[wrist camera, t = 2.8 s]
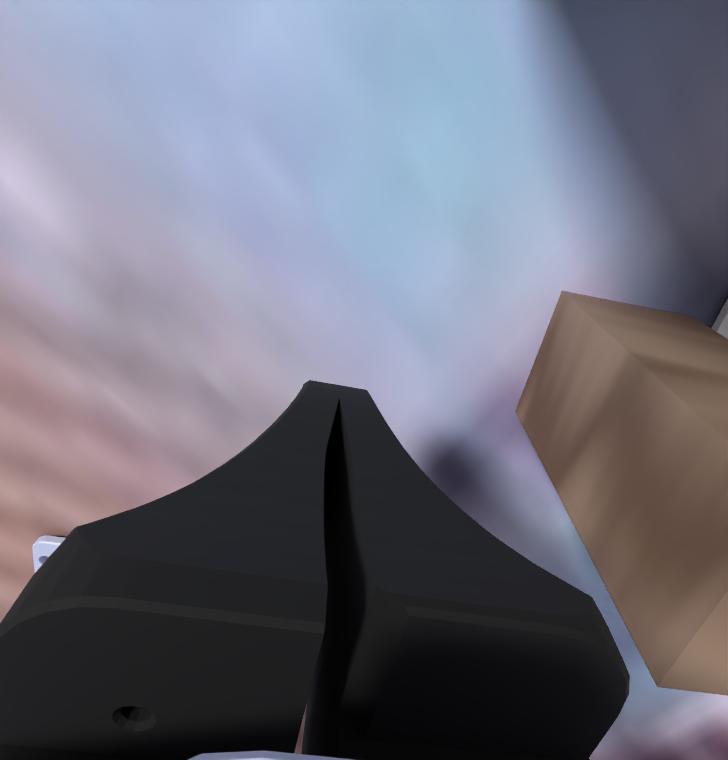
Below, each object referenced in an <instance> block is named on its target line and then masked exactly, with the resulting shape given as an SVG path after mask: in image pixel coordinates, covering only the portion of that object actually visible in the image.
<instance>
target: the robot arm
mask: <svg viewBox="0 0 728 760" xmlns="http://www.w3.org/2000/svg"><path fill="white" fill-rule="evenodd" d="M32 551H33V560H34V569H35V574H34V575H33V577H32V578H31V579H30V581H29V582H28V584H27V585H26V587H25V588H24V589H23V591H22V592H21V594H20V595H19V597H18V598H17V600H16V601H15V603H14V604H13V606H12V607H11V609H10V610H9V612H8V613H7V614H6V616H5V617H4V619H3V620H2V622H1V623H0V760H589V757H590V755H591V754H592V752H593V751H594V750H595V748H596V747H597V745H598V744H599V743H600V741H601V740H602V738H603V737H604V735H605V734H606V733H607V731H608V730H609V728H610V727H611V725H612V724H613V723H614V721H615V720H616V718H617V717H618V715H619V713H620V711H621V709H622V707H623V705H624V703H625V701H626V699H627V697H628V695H629V679H630V676H629V673H628V671H627V668H626V666H625V663H624V661H623V659H622V656H621V654H620V652H619V650H618V648H617V646H616V643H615V641H614V639H613V637H612V635H611V632H610V630H609V628H608V626H607V624H606V622H605V620H604V618H603V617H602V615H601V613H600V611H599V609H598V607H597V605H596V604H595V602H594V600H593V598H592V597H591V596H589V595H587V594H585V593H584V592H582V591H580V590H579V589H577V588H575V587H573V586H572V585H570V584H568V583H566V582H565V581H563V580H561V579H559V578H558V577H556V576H554V575H552V574H551V573H549V572H547V571H546V570H544V569H542V568H540V567H539V566H537V565H535V564H534V563H532V562H531V561H529V560H528V559H526V558H525V557H523V556H522V555H520V554H519V553H517V552H516V551H514V550H513V549H512V548H510V547H509V546H507V545H506V544H504V543H503V542H501V541H500V540H499V539H497V538H496V537H495V536H493V535H492V534H491V533H489V532H488V531H487V530H485V529H484V528H483V527H482V526H480V525H479V524H478V523H477V522H476V521H474V520H473V519H472V518H471V517H470V516H468V515H467V514H466V513H465V512H463V511H462V510H461V509H460V508H459V507H458V506H457V505H456V504H454V503H453V502H452V501H451V500H450V499H449V498H448V497H447V496H446V495H445V494H444V493H443V492H442V491H441V490H440V489H439V488H438V487H437V486H436V485H435V484H434V483H433V482H432V481H431V480H430V479H429V478H428V477H427V476H426V475H425V473H424V472H423V471H422V470H421V469H420V468H419V467H418V465H417V464H416V463H415V462H414V460H413V459H412V458H411V457H410V455H409V454H408V453H407V452H406V450H405V449H404V448H403V446H402V445H401V444H400V442H399V441H398V439H397V438H396V436H395V435H394V433H393V432H392V430H391V429H390V427H389V426H388V424H387V423H386V421H385V419H384V418H383V416H382V415H381V413H380V411H379V410H378V408H377V406H376V404H375V403H374V401H373V399H372V397H371V396H370V394H369V393H368V391H367V390H364V389H358V388H352V387H346V386H340V385H335V384H329V383H323V382H317V381H311V380H309V381H308V382H306V383H305V384H303V387H302V389H301V391H300V392H299V394H298V395H297V397H296V398H295V399H294V401H293V402H292V403H291V404H290V406H289V407H288V408H287V409H286V410H285V411H284V412H283V413H282V415H281V416H280V417H279V418H278V419H277V420H276V421H275V422H274V423H273V424H272V425H271V426H270V427H269V428H268V429H267V430H266V431H265V432H264V433H262V434H261V435H260V436H259V437H258V438H257V439H256V440H255V441H254V442H253V443H251V444H250V445H249V446H248V447H246V448H245V449H244V450H243V451H241V452H240V453H239V454H237V455H236V456H235V457H233V458H232V459H230V460H229V461H228V462H226V463H225V464H223V465H222V466H220V467H219V468H217V469H215V470H214V471H212V472H210V473H209V474H207V475H206V476H204V477H202V478H201V479H199V480H197V481H195V482H194V483H192V484H190V485H188V486H186V487H184V488H181V489H179V490H177V491H175V492H173V493H171V494H169V495H166V496H164V497H162V498H159V499H157V500H154V501H152V502H150V503H147V504H145V505H142V506H139V507H137V508H134V509H131V510H128V511H125V512H122V513H119V514H116V515H113V516H110V517H107V518H104V519H101V520H98V521H95V522H92V523H88V524H85V525H81V526H78V527H76V528H75V529H73V531H72V532H71V533H70V534H69V535H68V536H67V537H66V538H63V537H56V536H41V537H39V538H38V539H37V540H36V542H35V543H34V545H33V547H32ZM307 699H308V701H307ZM306 703H307V710H306V719H305V728H304V737H303V746H302V754H294V751H295V747H296V743H297V739H298V735H299V731H300V727H301V723H302V719H303V715H304V711H305V707H306Z"/></svg>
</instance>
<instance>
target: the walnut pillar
mask: <svg viewBox="0 0 728 760" xmlns="http://www.w3.org/2000/svg"><path fill="white" fill-rule="evenodd" d="M515 412H516V414H517V415H518V417H519V419H520V421H521V423H522V425H523V427H524V429H525V431H526V433H527V435H528V437H529V439H530V441H531V443H532V445H533V447H534V448H535V450H536V452H537V454H538V456H539V458H540V460H541V462H542V464H543V466H544V468H545V470H546V472H547V474H548V476H549V478H550V480H551V482H552V483H553V485H554V487H555V489H556V491H557V493H558V495H559V497H560V499H561V501H562V503H563V505H564V507H565V509H566V511H567V513H568V515H569V516H570V518H571V520H572V522H573V524H574V526H575V528H576V530H577V532H578V534H579V536H580V538H581V540H582V542H583V544H584V546H585V548H586V549H587V551H588V553H589V555H590V557H591V559H592V561H593V563H594V565H595V567H596V569H597V571H598V573H599V575H600V577H601V579H602V581H603V582H604V584H605V586H606V588H607V590H608V592H609V594H610V596H611V598H612V600H613V602H614V604H615V606H616V608H617V610H618V612H619V614H620V615H621V617H622V619H623V621H624V623H625V625H626V627H627V629H628V631H629V633H630V635H631V637H632V639H633V641H634V643H635V645H636V647H637V649H638V650H639V652H640V654H641V656H642V658H643V660H644V662H645V664H646V666H647V668H648V670H649V672H650V674H651V676H652V678H653V680H654V682H655V683H656V685H657V687H663V688H671V689H679V690H688V691H696V692H704V693H712V694H721V695H728V339H727V338H725V337H724V336H722V335H721V334H719V333H717V332H716V331H714V330H713V329H711V328H710V327H708V326H706V325H705V324H703V323H702V322H700V321H699V320H697V319H695V318H694V317H691V316H686V315H681V314H676V313H671V312H666V311H661V310H656V309H651V308H646V307H641V306H636V305H631V304H626V303H621V302H616V301H611V300H606V299H601V298H596V297H591V296H586V295H581V294H576V293H571V292H565V291H562V292H561V295H560V298H559V300H558V303H557V305H556V308H555V311H554V313H553V316H552V318H551V321H550V323H549V326H548V329H547V331H546V334H545V336H544V339H543V342H542V344H541V347H540V349H539V352H538V354H537V357H536V360H535V362H534V365H533V367H532V370H531V372H530V375H529V378H528V380H527V383H526V385H525V388H524V391H523V393H522V396H521V398H520V401H519V403H518V406H517V409H516V411H515Z"/></svg>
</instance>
